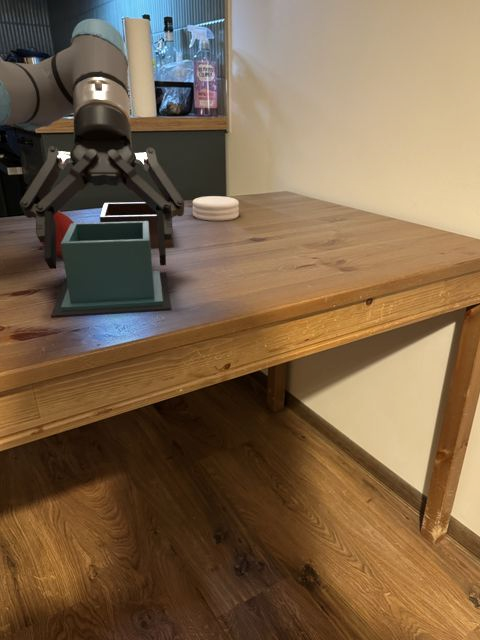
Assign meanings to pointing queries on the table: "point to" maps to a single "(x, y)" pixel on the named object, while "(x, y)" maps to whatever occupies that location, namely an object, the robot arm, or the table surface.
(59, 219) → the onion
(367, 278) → the table surface
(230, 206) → the white short cylinder
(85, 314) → the mat
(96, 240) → the box
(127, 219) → the box
